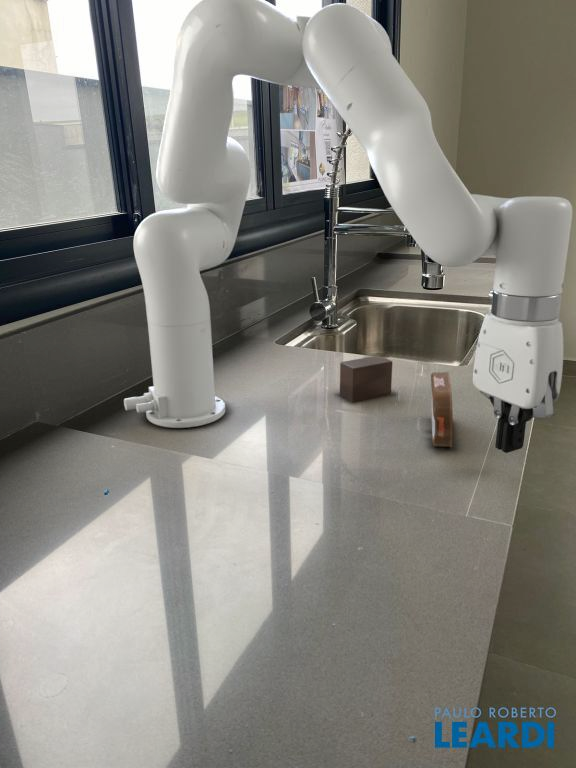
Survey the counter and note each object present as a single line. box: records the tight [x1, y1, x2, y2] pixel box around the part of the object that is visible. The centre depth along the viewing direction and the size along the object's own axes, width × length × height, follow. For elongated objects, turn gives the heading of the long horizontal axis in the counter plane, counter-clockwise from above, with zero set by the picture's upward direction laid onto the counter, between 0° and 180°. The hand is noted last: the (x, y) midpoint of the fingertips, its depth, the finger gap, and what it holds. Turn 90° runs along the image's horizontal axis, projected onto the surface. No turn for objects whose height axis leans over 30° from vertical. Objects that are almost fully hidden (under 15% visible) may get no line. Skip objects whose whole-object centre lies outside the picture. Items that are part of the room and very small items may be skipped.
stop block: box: [339, 354, 393, 403], centre depth 104 cm, size 8×4×6 cm, turn 118°
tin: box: [430, 371, 454, 448], centre depth 87 cm, size 15×3×8 cm, turn 168°
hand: (508, 448), depth 77 cm, fingers closed
